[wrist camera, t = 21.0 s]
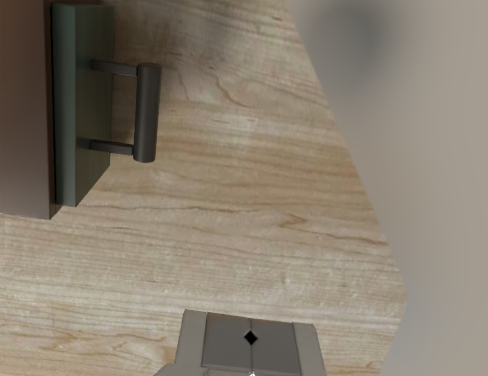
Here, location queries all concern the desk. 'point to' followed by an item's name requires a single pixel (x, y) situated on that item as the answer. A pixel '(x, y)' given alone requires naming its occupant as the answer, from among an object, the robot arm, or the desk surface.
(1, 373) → the desk surface
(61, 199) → the drawer
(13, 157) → the cabinet
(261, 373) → the robot arm
